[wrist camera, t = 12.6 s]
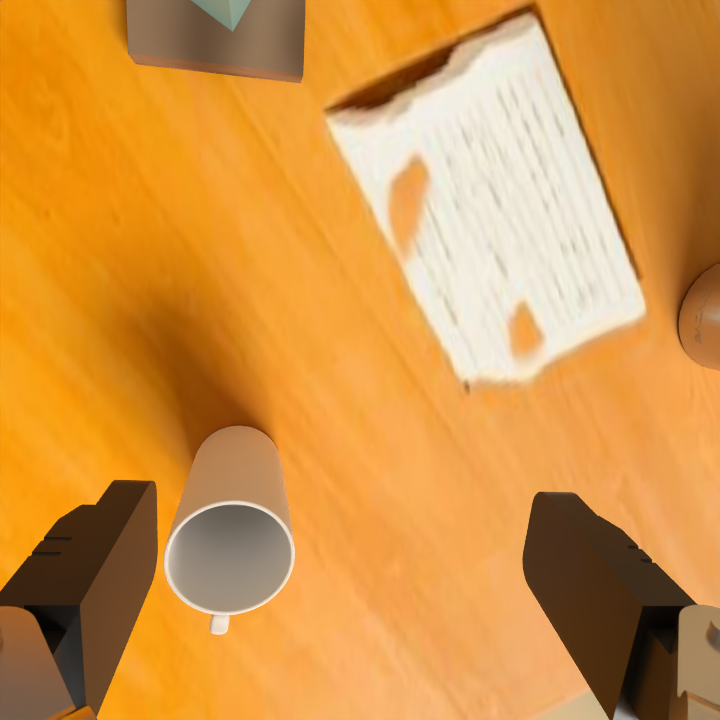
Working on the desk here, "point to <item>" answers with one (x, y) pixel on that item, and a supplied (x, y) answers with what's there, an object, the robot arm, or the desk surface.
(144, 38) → the base
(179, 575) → the mug
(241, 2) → the pillar
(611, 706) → the robot arm
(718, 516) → the desk surface
